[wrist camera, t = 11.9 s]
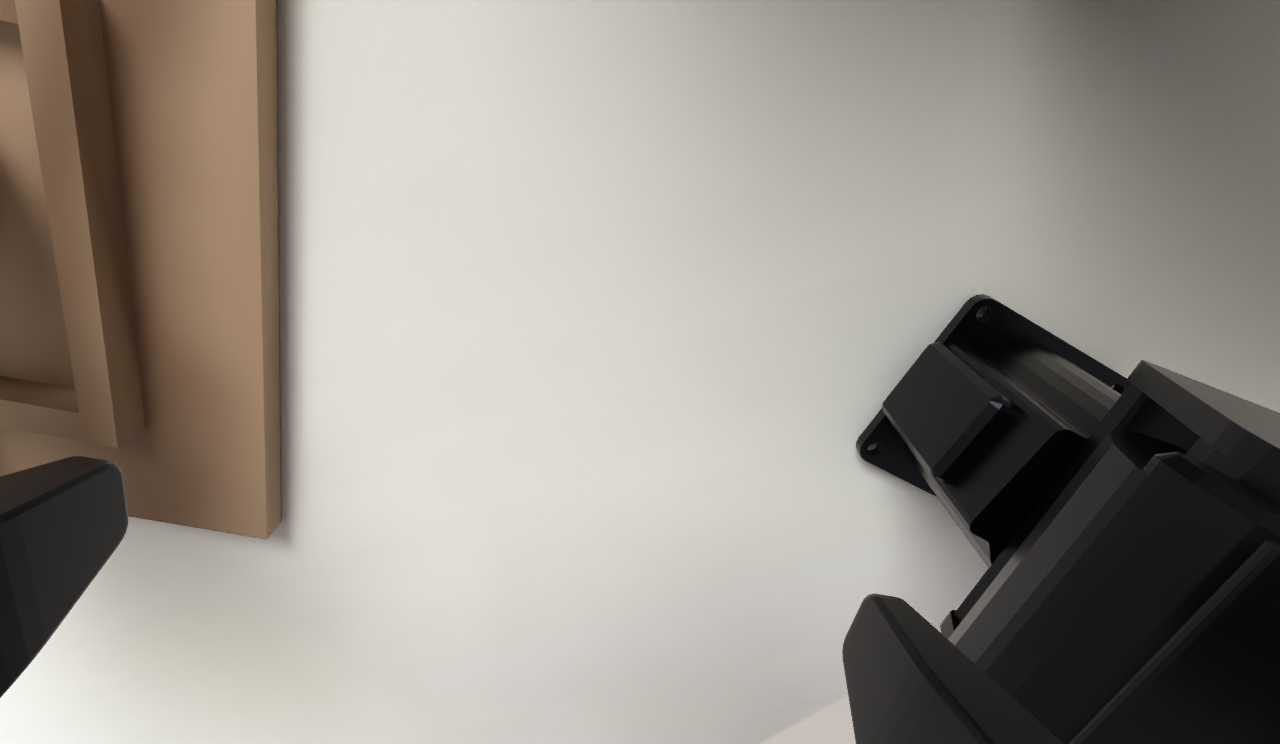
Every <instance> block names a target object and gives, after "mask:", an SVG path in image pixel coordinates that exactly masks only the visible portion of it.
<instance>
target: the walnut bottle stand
mask: <svg viewBox="0 0 1280 744" xmlns="http://www.w3.org/2000/svg"><path fill="white" fill-rule="evenodd" d="M72 456H85V457H90V458H96V459H102V460H108V461H112V462H114V463H116V464H117V465H118V466H119V467H120V469H121V470H122V474H123V481H124V489H125V497H126V504H127V512H128V516H131V517H137V518H143V519H148V520H154V521H160V522H166V523H172V524H178V525H184V526H190V527H196V528H202V529H208V530H214V531H220V532H226V533H231V534H237V535H243V536H249V537H255V538H261V539H267V538H268V537H269V536H270V535H271V533H272V532H273V531H274V530H275V528H276V527H277V526H278V525H279V524H280V522H281V465H280V353H279V242H278V130H277V19H276V0H0V476H4V475H7V474H11V473H15V472H18V471H22V470H25V469H29V468H32V467H36V466H39V465H43V464H46V463H50V462H53V461H57V460H60V459H64V458H67V457H72Z"/></svg>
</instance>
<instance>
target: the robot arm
mask: <svg viewBox="0 0 1280 744" xmlns="http://www.w3.org/2000/svg"><path fill="white" fill-rule="evenodd" d="M984 306H986V308H987V310H986V312H985V314H984V315H982V316H981V317H977V318H976V313H977V311H978V310H979V309H980V308H981V307H984ZM1130 382H1131V383H1130ZM1112 385H1115V386H1114V388H1113V389H1112V388H1110V387H1111V386H1112ZM873 443H878V445H877V447H876V448H874V449H872V450H867V449H868V446H870V445H871V444H873ZM856 448H857V450H858V452H859V454H860V455H861V457H862V458H863V459H864V460H865V461H867V462H869V463H871V464H873V465H875V466H877V467H879V468H881V469H883V470H885V471H887V472H889V473H891V474H893V475H895V476H897V477H899V478H901V479H903V480H905V481H907V482H909V483H911V484H913V485H915V486H917V487H919V488H921V489H923V490H925V491H927V492H929V493H931V494H933V495H934V496H936V497H938V498H939V500H940V501H941V503H942V504H943V505H944V507H945V508H946V509H947V511H948V512H949V514H950V515H951V516H952V518H953V519H954V521H955V522H956V523H957V525H958V526H959V527H960V529H961V530H962V532H963V533H964V534H965V536H966V537H967V539H968V540H969V541H970V543H971V544H972V546H973V547H974V548H975V550H976V551H977V552H978V554H979V555H980V557H981V558H982V559H983V561H984V562H985V564H986V565H987V566H988V568H989V569H988V570H987V571H986V573H985V574H984V575H983V577H982V578H981V579H980V581H979V582H978V583H977V585H976V586H975V587H974V588H973V590H972V591H971V592H970V594H969V595H968V596H967V598H966V599H965V600H964V602H963V603H962V604H961V605H960V607H959V608H958V609H957V611H955V610H952V611H950V613H949V614H948V615H947V617H946V618H945V619H944V621H943V622H942V623H941V626H940V627H941V633H942V634H941V633H940V632H939V631H938V630H937V629H936V628H934V627H933V626H932V625H931V624H930V623H929V622H928V621H927V620H925V619H924V618H923V617H922V616H921V615H920V614H919V613H918V612H916V611H915V610H914V609H913V608H912V607H911V606H910V605H909V604H907V603H906V602H905V601H904V600H902V599H900V598H897V597H892V596H886V595H880V594H870V595H868V596H867V597H866V598H865V599H864V600H863V602H862V604H861V606H860V608H859V610H858V612H857V614H856V616H855V618H854V620H853V622H852V624H851V627H850V629H849V631H848V633H847V635H846V637H845V640H844V644H843V663H844V670H845V676H846V683H847V689H848V695H849V702H850V707H851V715H852V721H853V727H854V734H855V740H856V744H1280V413H1278V412H1275V411H1272V410H1270V409H1267V408H1265V407H1262V406H1260V405H1257V404H1254V403H1252V402H1249V401H1247V400H1244V399H1242V398H1239V397H1237V396H1234V395H1231V394H1229V393H1226V392H1224V391H1221V390H1219V389H1216V388H1214V387H1211V386H1208V385H1206V384H1203V383H1201V382H1198V381H1196V380H1193V379H1191V378H1188V377H1185V376H1183V375H1180V374H1178V373H1175V372H1173V371H1170V370H1168V369H1165V368H1162V367H1160V366H1157V365H1155V364H1152V363H1150V362H1147V361H1144V360H1141V361H1140V363H1139V364H1138V365H1137V367H1136V368H1135V369H1134V371H1133V372H1132V373H1131V375H1130V376H1129V377H1128V379H1126V378H1125V377H1123V376H1121V375H1120V374H1118V373H1116V372H1115V371H1113V370H1111V369H1110V368H1108V367H1106V366H1105V365H1103V364H1101V363H1100V362H1098V361H1096V360H1095V359H1093V358H1091V357H1090V356H1088V355H1086V354H1085V353H1083V352H1081V351H1080V350H1078V349H1076V348H1075V347H1073V346H1071V345H1070V344H1068V343H1066V342H1065V341H1063V340H1061V339H1060V338H1058V337H1056V336H1055V335H1053V334H1051V333H1050V332H1048V331H1046V330H1045V329H1043V328H1041V327H1040V326H1038V325H1036V324H1035V323H1033V322H1031V321H1030V320H1028V319H1026V318H1025V317H1023V316H1021V315H1020V314H1018V313H1016V312H1015V311H1013V310H1011V309H1010V308H1008V307H1006V306H1005V305H1003V304H1001V303H1000V302H998V301H996V300H995V299H993V298H991V297H990V296H987V295H984V294H983V295H976V296H974V297H972V298H970V299H969V300H968V301H967V302H966V303H965V304H964V305H963V307H962V308H961V309H960V310H959V312H958V313H957V314H956V316H955V317H954V318H953V319H952V321H951V322H950V323H949V324H948V326H947V327H946V328H945V329H944V331H943V332H942V333H941V334H940V336H939V337H938V338H937V340H936V341H935V342H934V343H933V344H930V345H929V346H928V347H927V348H926V349H925V350H924V352H923V353H922V354H921V355H920V357H919V358H918V359H917V360H916V362H915V363H914V364H913V366H912V367H911V368H910V369H909V371H908V372H907V373H906V374H905V376H904V377H903V378H902V379H901V381H900V382H899V383H898V385H897V386H896V387H895V388H894V390H893V391H892V392H891V393H890V395H889V396H888V397H887V398H886V400H885V401H884V402H883V408H882V409H881V410H880V412H879V413H878V414H877V415H876V417H875V418H874V419H873V420H872V422H871V423H870V424H869V425H868V427H867V428H866V429H865V430H864V432H863V433H862V434H861V435H860V437H859V438H858V440H857V442H856ZM127 526H128V512H127V504H126V497H125V489H124V481H123V474H122V470H121V469H120V467H119V466H118V465H117V464H116V463H114V462H112V461H108V460H102V459H96V458H90V457H85V456H72V457H67V458H64V459H60V460H57V461H53V462H50V463H46V464H43V465H39V466H36V467H32V468H29V469H25V470H22V471H18V472H15V473H11V474H7V475H4V476H0V698H1V696H2V695H3V694H4V693H5V692H6V691H7V690H8V689H9V688H10V686H11V685H12V684H13V683H14V682H15V681H16V679H17V678H18V677H19V676H20V675H21V674H22V672H23V671H24V670H25V669H26V668H27V666H28V665H29V664H30V663H31V662H32V660H33V659H34V658H35V657H36V655H37V654H38V653H39V651H40V650H41V649H42V648H43V646H44V645H45V644H46V643H47V641H48V640H49V639H50V637H51V636H52V634H53V633H54V632H55V630H56V629H57V628H58V626H59V625H60V624H61V622H62V621H63V620H64V618H65V617H66V616H67V614H68V613H69V611H70V610H71V609H72V607H73V606H74V605H75V603H76V602H77V601H78V599H79V598H80V597H81V595H82V594H83V593H84V591H85V590H86V588H87V587H88V586H89V584H90V583H91V582H92V580H93V579H94V578H95V576H96V575H97V574H98V572H99V571H100V570H101V568H102V567H103V565H104V564H105V563H106V561H107V560H108V559H109V557H110V556H111V555H112V553H113V552H114V551H115V549H116V548H117V547H118V545H119V544H120V542H121V541H122V539H123V537H124V535H125V533H126V530H127Z"/></svg>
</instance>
